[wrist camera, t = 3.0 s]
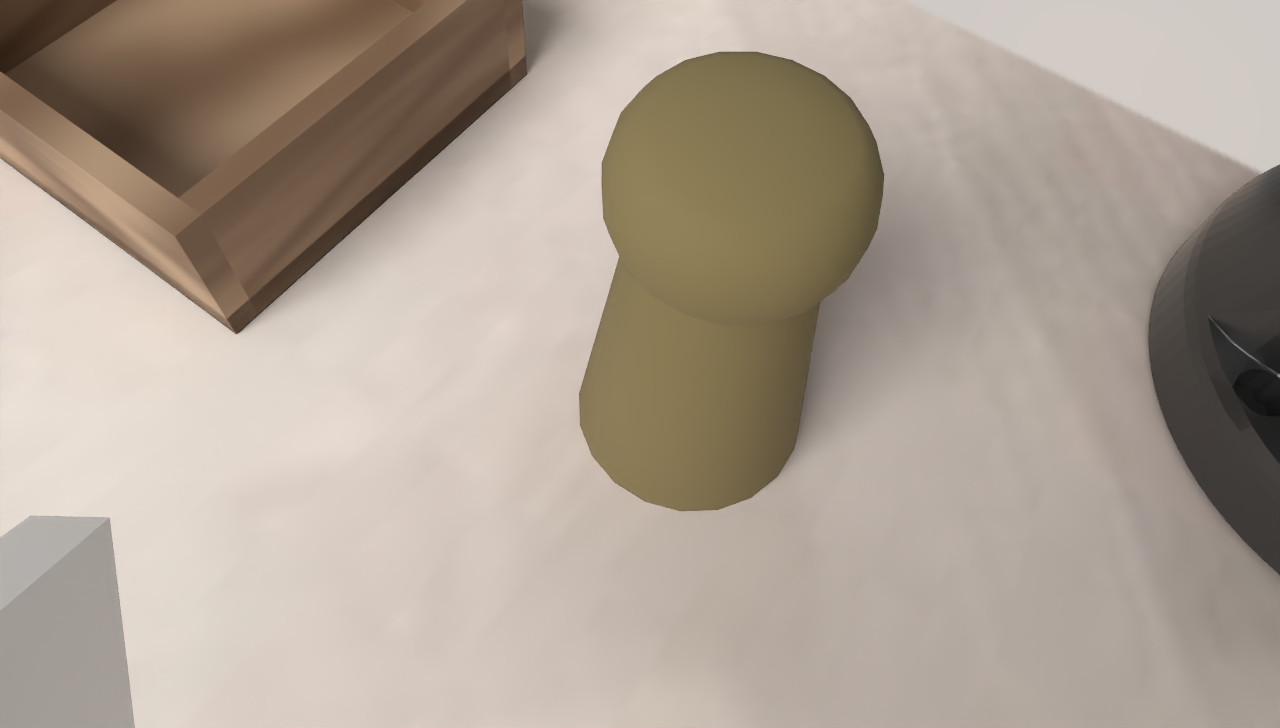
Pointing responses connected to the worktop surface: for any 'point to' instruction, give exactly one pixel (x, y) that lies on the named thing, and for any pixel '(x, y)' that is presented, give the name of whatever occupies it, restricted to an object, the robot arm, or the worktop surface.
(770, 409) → the cork
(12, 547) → the robot arm
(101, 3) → the walnut crate
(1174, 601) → the worktop surface
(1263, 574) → the worktop surface
